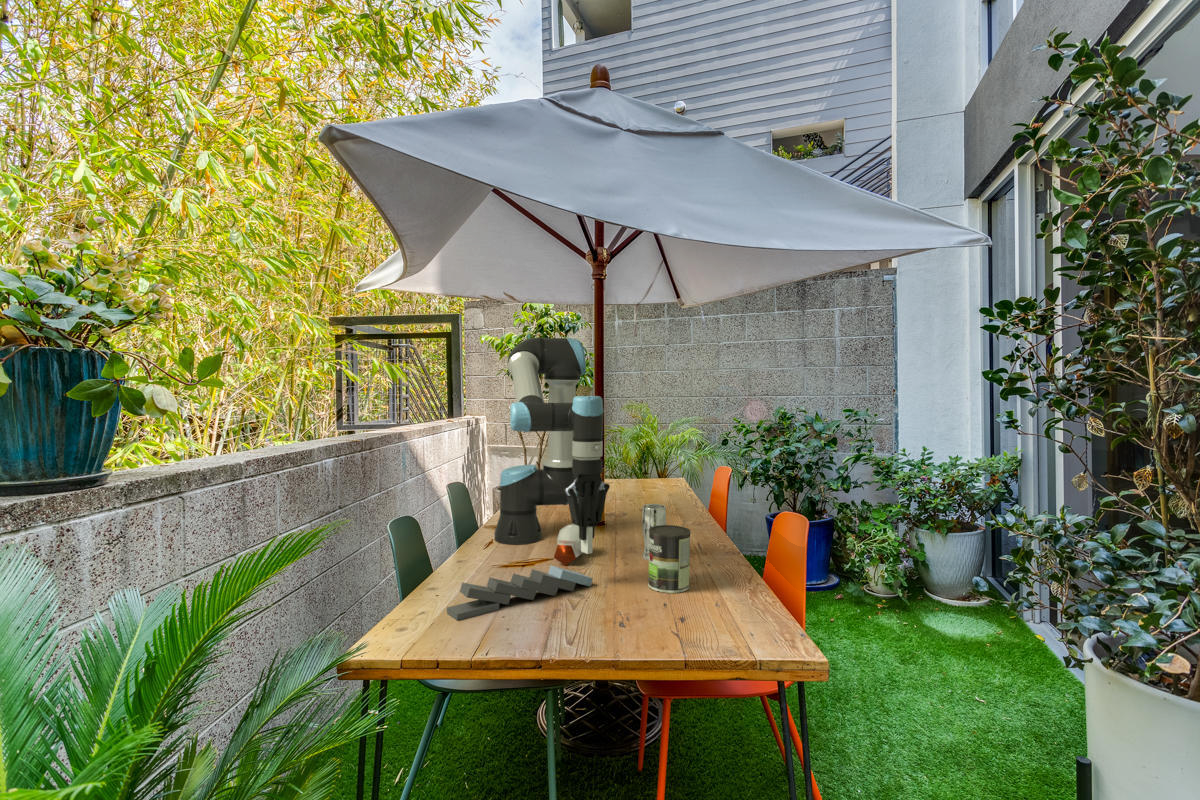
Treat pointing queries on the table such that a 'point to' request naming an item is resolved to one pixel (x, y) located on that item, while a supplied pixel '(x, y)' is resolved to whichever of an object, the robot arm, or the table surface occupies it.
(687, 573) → the coffee can
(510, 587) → the domino
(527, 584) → the domino
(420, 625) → the table surface
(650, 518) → the silver metal cylinder
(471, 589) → the domino
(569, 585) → the domino
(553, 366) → the robot arm
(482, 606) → the domino
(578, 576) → the domino
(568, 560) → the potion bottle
